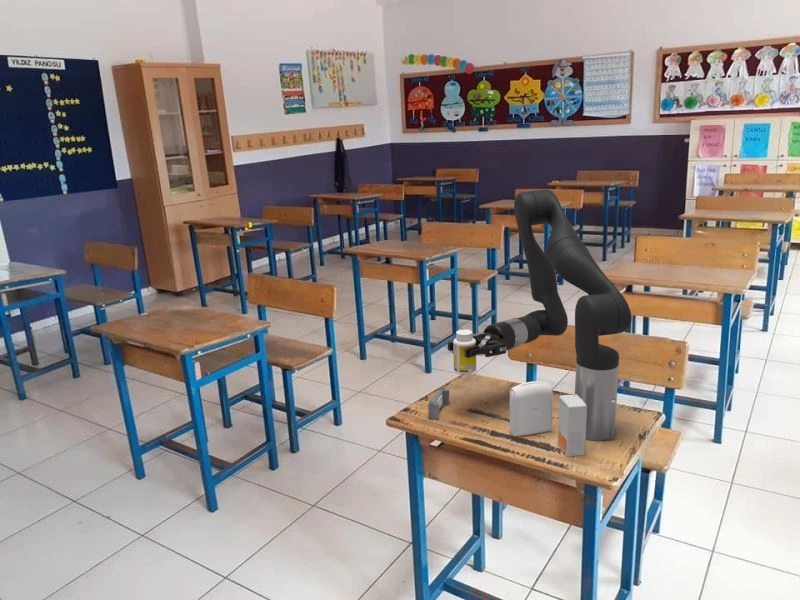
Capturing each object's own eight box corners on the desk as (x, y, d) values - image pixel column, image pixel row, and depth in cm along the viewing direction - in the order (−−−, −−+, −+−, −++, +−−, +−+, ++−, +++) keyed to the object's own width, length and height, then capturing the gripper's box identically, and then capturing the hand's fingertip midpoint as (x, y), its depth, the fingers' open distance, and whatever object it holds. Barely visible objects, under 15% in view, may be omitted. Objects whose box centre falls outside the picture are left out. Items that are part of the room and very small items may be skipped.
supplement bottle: (481, 370, 155) (480, 331, 152) (465, 377, 152) (465, 337, 149) (464, 365, 159) (463, 326, 157) (449, 371, 156) (448, 332, 153)
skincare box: (556, 443, 142) (558, 395, 139) (575, 442, 143) (577, 393, 139) (566, 457, 136) (568, 406, 133) (585, 455, 137) (588, 405, 134)
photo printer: (513, 438, 145) (514, 389, 142) (506, 430, 149) (507, 381, 146) (554, 432, 147) (556, 383, 144) (546, 424, 152) (548, 376, 148)
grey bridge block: (449, 403, 165) (449, 389, 163) (437, 419, 156) (437, 404, 154) (440, 402, 165) (440, 388, 164) (428, 418, 156) (428, 403, 155)
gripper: (486, 315, 167) (437, 328, 157) (527, 328, 155) (477, 343, 146) (486, 341, 169) (438, 356, 159) (526, 356, 158) (477, 373, 148)
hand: (457, 350), depth 152 cm, fingers closed on supplement bottle, 5 cm apart
